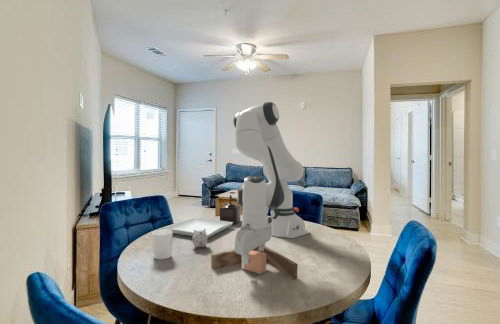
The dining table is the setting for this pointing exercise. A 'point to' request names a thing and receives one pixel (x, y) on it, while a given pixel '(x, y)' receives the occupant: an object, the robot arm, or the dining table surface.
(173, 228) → the square plate
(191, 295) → the dining table surface
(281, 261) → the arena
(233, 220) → the dark brown coffee grinder
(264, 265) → the block
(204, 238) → the game die
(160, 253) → the white cup
